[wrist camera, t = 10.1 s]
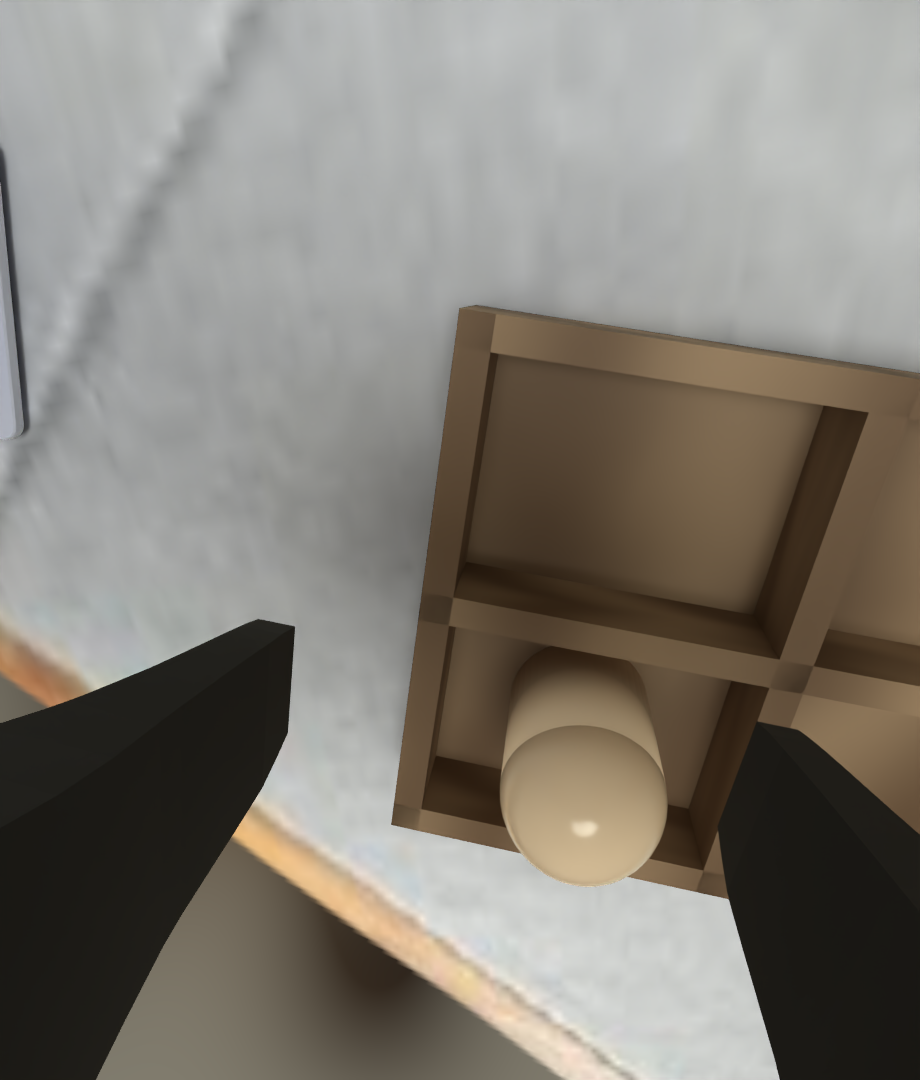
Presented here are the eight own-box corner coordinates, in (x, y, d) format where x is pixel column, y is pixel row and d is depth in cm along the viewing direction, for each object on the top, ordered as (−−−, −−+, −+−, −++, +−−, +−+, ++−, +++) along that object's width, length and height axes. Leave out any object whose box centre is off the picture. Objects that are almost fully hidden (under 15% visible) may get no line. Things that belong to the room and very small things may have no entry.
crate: (412, 758, 23) (391, 825, 20) (476, 305, 17) (459, 308, 14) (990, 880, 21) (1055, 971, 18) (1251, 424, 16) (1399, 453, 13)
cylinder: (501, 741, 21) (480, 906, 15) (523, 629, 20) (508, 766, 14) (629, 768, 21) (655, 944, 15) (661, 656, 19) (703, 806, 14)
